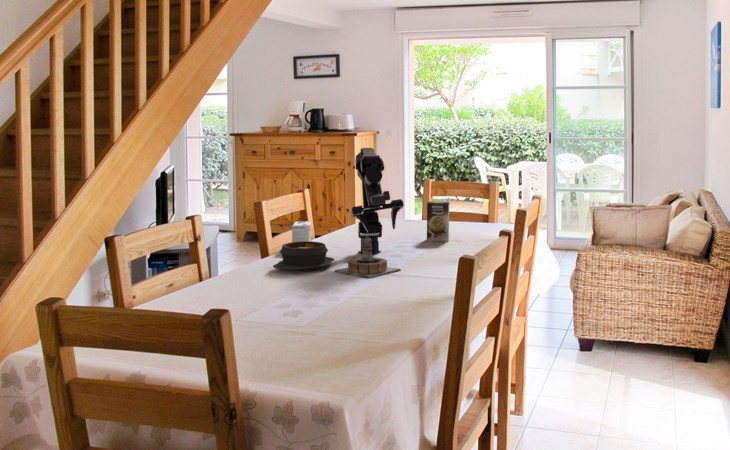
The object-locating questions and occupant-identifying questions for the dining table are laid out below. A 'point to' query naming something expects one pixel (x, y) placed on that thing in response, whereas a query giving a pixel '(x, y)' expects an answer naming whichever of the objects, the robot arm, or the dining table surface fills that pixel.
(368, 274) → the walnut collar
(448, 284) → the dining table surface
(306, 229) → the light bulb box
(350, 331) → the dining table surface
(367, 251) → the salt shaker
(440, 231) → the coffee box
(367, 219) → the robot arm
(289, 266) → the casserole
